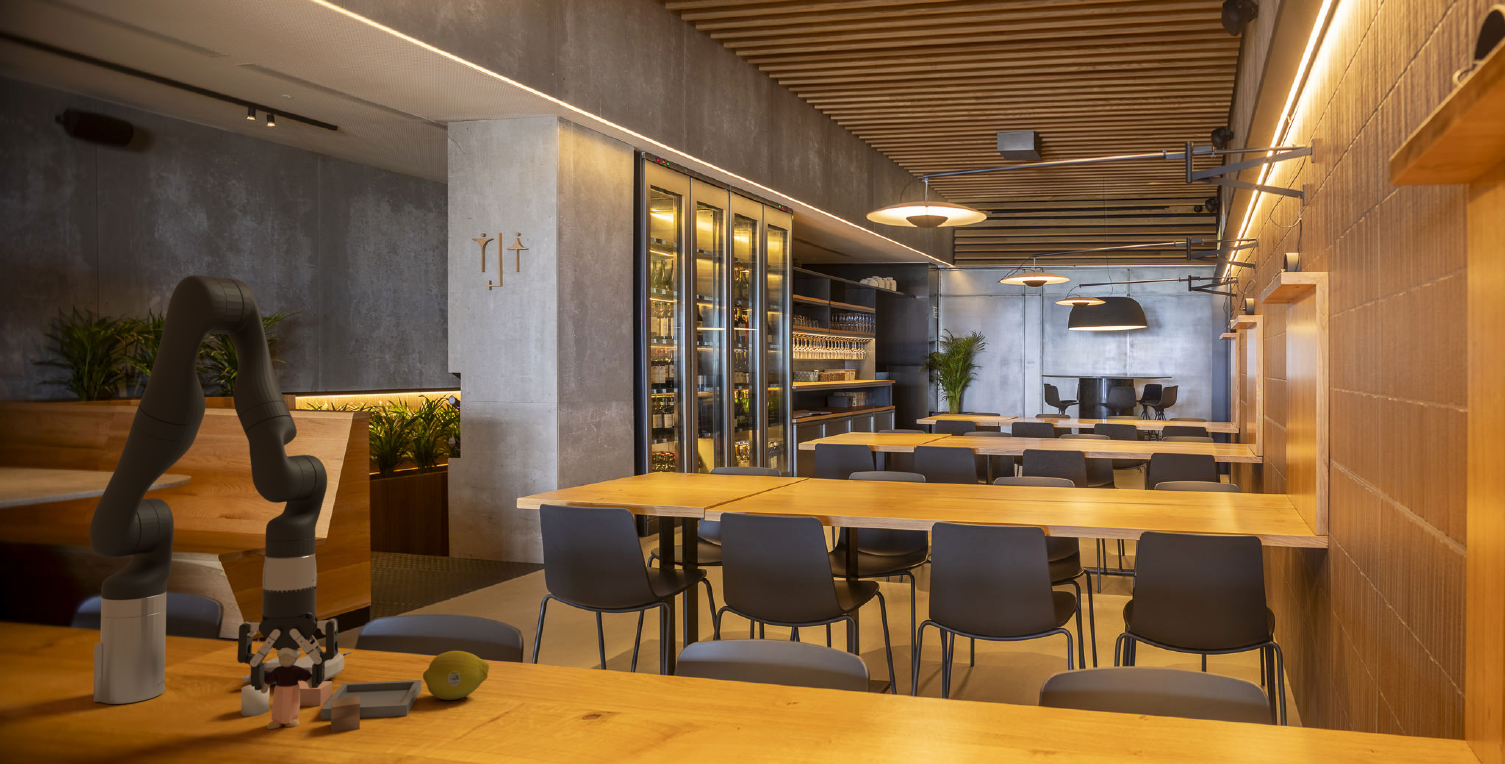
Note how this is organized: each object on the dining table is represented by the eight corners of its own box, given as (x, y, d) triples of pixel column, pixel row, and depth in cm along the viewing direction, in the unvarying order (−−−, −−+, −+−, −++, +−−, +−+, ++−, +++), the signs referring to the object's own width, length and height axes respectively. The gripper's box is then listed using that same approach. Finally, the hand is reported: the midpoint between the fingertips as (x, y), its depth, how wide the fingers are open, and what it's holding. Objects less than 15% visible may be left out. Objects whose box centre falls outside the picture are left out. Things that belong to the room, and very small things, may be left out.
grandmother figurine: (259, 733, 139) (260, 649, 140) (260, 724, 143) (261, 643, 143) (315, 724, 143) (316, 643, 143) (314, 717, 146) (315, 637, 147)
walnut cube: (331, 733, 140) (331, 707, 140) (330, 724, 143) (331, 699, 143) (359, 729, 141) (360, 703, 142) (358, 721, 145) (359, 696, 145)
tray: (320, 720, 145) (321, 709, 145) (342, 693, 158) (342, 683, 158) (406, 715, 147) (407, 705, 147) (421, 689, 160) (421, 680, 160)
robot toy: (237, 697, 158) (320, 694, 157) (235, 671, 158) (319, 667, 157) (278, 675, 170) (356, 672, 169) (277, 651, 170) (354, 647, 169)
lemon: (415, 706, 152) (416, 658, 152) (431, 691, 160) (432, 645, 160) (480, 706, 152) (481, 658, 152) (493, 691, 160) (494, 645, 160)
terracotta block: (284, 706, 152) (284, 688, 152) (297, 698, 156) (297, 680, 156) (320, 707, 152) (320, 689, 152) (331, 699, 156) (332, 681, 156)
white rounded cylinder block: (237, 717, 146) (237, 691, 146) (246, 708, 150) (246, 683, 150) (264, 715, 147) (264, 690, 147) (272, 707, 151) (273, 682, 151)
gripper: (231, 589, 138) (229, 698, 138) (331, 587, 141) (330, 693, 140) (249, 579, 145) (247, 682, 145) (344, 577, 148) (342, 678, 148)
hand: (288, 687), depth 143 cm, fingers closed on grandmother figurine, 8 cm apart
